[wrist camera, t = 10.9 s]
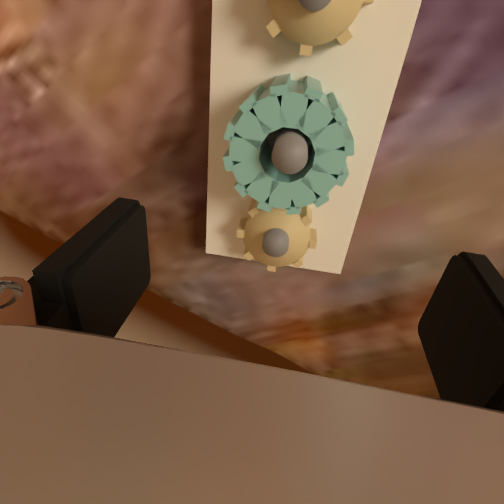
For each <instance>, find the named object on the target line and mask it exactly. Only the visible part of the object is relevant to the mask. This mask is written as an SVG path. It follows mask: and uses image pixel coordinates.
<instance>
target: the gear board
mask: <svg viewBox="0 0 504 504" xmlns="http://www.w3.org/2000/svg"><path fill="white" fill-rule="evenodd" d="M421 2H422V0H212V33H211V71H210V109H209V147H208V186H207V224H206V253H209V254H216V255H222V256H228V257H235V258H241V259H247V260H248V261H250V260H254V261H258V262H260V263H262V264H265V265H268V267H267V271H273V272H275V271H276V267H282V266H292V267H295V268H298V267H299V268H305V269H312V270H318V271H324V272H331V273H337V274H340V273H341V270H342V267H343V263H344V260H345V257H346V253H347V250H348V247H349V243H350V240H351V237H352V233H353V230H354V226H355V223H356V220H357V216H358V213H359V210H360V206H361V203H362V200H363V196H364V193H365V190H366V186H367V183H368V179H369V176H370V173H371V169H372V166H373V163H374V159H375V156H376V153H377V149H378V146H379V143H380V139H381V136H382V132H383V129H384V126H385V122H386V119H387V116H388V112H389V109H390V106H391V102H392V99H393V96H394V92H395V89H396V86H397V82H398V79H399V75H400V72H401V69H402V65H403V62H404V59H405V55H406V52H407V49H408V45H409V42H410V39H411V35H412V32H413V28H414V25H415V22H416V18H417V15H418V12H419V8H420V5H421ZM284 74H291V80H294V81H302V82H305V80H306V77H307V75H308V76H310V77H312V78H315V79H317V80H319V81H320V82H321V87H322V91H323V92H324V93H325V94H326V95H327V96H328V95H330V94H331V93H332V92H334V94H335V96H336V97H337V99H338V100H339V102H340V103H341V105H342V108H343V110H344V112H345V115H346V117H347V119H348V121H346V122H347V124H348V126H349V129H350V131H351V134H352V136H353V139H354V155H352V156H347V158H346V163H347V167H348V170H349V175H348V177H347V179H346V181H345V183H344V184H343V186H342V187H341V186H338V185H335V186H334V187H333V188H332V189H331V190H330V191H329V201H327V202H326V203H324V204H323V205H321V206H320V207H318V208H317V207H316V206H315V204H314V203H313V204H310V205H307V206H304V207H302V208H301V214H292V215H287V213H286V209H279V208H272V209H271V211H270V213H269V212H267V211H264V210H262V209H259V208H257V205H258V201H256V200H255V199H254V198H252V197H251V196H249V195H248V194H247V195H246V196H245V197H242V196H241V195H240V194H239V193H238V191H237V190H236V189H235V188H234V185H235V183H236V181H237V180H236V178H235V176H234V174H233V171H226V170H225V166H224V161H223V156H224V154H225V153H226V151H227V150H228V148H229V146H230V141H228V140H226V139H223V138H224V135H225V132H226V129H227V125H228V123H229V122H230V121H231V119H232V118H233V117H234V116H235V115H236V113H237V112H238V111H239V110H240V108H239V106H240V105H241V104H242V103H243V101H244V100H245V99H246V98H247V97H248V96H249V94H250V93H251V92H252V91H253V90H255V89H256V88H257V87H258V86H259V85H260V84H262V85H263V87H264V88H267V87H269V86H271V84H272V82H273V81H274V79H275V78H276V76H279V75H284ZM267 139H268V141H269V143H270V146H271V148H272V149H273V151H272V162H273V165H274V166H275V168H276V169H277V170H278V171H280V172H282V173H284V174H295V173H297V172H299V171H301V170H302V169H303V168H304V167H305V165H306V163H307V160H308V147H309V146H310V145H311V143H312V142H311V139H310V138H309V137H308V136H306V135H305V134H304V133H303V132H301V131H300V130H299V129H294V128H286V127H282V128H280V129H278V130H275V131H273V132H271V133H269V134H268V135H267Z"/></svg>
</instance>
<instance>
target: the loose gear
mask: <svg viewBox="0 0 504 504" xmlns="http://www.w3.org/2000/svg"><path fill="white" fill-rule="evenodd" d="M239 108H240V110H239V111H238V112H237V113H236V115H235V116H234V117H233V118H232V119H231V121H230V122H229V123H228V125H227V129H226V132H225V135H224V138H223V139H226V140H228V141H230V146H229V148H228V150H227V151H226V153H225V154H224V156H223V161H224V166H225V170H226V171H233V174H234V176H235V178H236V180H237V181H236V183H235V185H234V188H235V189H236V190H237V191H238V193H239V194H240V195H241V196H242V197H245V196H246V195H247V194H248V195H249V196H251V197H252V198H254V199H255V200H256V201H258V205H257V208H259V209H262V210H264V211H267V212H269V213H270V211H271V209H272V208H279V209H286V213H287V215H292V214H301V208H302V207H304V206H307V205H310V204H313V203H314V204H315V206H316V207H317V208H318V207H320V206H321V205H323V204H324V203H326V202H327V201H329V191H330V190H331V189H332V188H333V187H334V186H335V185H338V186H341V187H342V186H343V184H344V183H345V181H346V179H347V177H348V175H349V170H348V167H347V163H346V158H347V156H352V155H354V139H353V136H352V134H351V131H350V129H349V126H348V124H347V122H346V121H348V119H347V117H346V115H345V112H344V110H343V108H342V105H341V103H340V102H339V100H338V99H337V97H336V96H335V94H334V92H332V93H331V94H330V95H328V96H327V95H326V94H325V93H324V92H323V91H322V87H321V82H320V81H319V80H317V79H315V78H312V77H310V76H308V75H307V77H306V80H305V82H302V81H294V80H291V74H284V75H279V76H276V78H275V79H274V81H273V82H272V84H271V86H269V87H267V88H264V87H263V85H262V84H260V85H259V86H258V87H257V88H256V89H255V90H253V91H252V92H251V93H250V94H249V96H248V97H247V98H246V99H245V100H244V101H243V103H242V104H241V105H240V106H239ZM282 127H286V128H294V129H299V130H300V131H301V132H303V133H304V134H305V135H306V136H308V137H309V138H310V139H311V142H312V143H311V145H310V146H309V147H308V160H307V163H306V165H305V167H304V168H303V169H302V170H301V171H299V172H297V173H295V174H284V173H282V172H280V171H278V170H277V169H276V168H275V166H274V165H273V162H272V151H273V149H272V148H271V146H270V143H269V141H268V139H267V135H268V134H269V133H271V132H273V131H275V130H278V129H280V128H282Z"/></svg>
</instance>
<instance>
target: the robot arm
mask: <svg viewBox="0 0 504 504" xmlns="http://www.w3.org/2000/svg"><path fill="white" fill-rule="evenodd" d="M32 272H33V275H34V276H32V277H31V278H30V279H29V280H28V281H25V280H24V279H22V278H17V277H0V504H504V279H503V278H502V276H501V275H500V274H499V272H498V271H497V270H496V269H495V267H494V266H493V265H492V263H491V262H490V261H489V259H488V258H487V257H486V256H485V255H480V254H474V253H468V252H461V253H460V254H459V255H458V256H456V255H455V256H453V257H452V258H451V259H450V261H449V263H448V265H447V267H446V269H445V271H444V273H443V275H442V277H441V279H440V281H439V283H438V285H437V287H436V289H435V291H434V293H433V295H432V297H431V299H430V301H429V303H428V305H427V307H426V309H425V311H424V313H423V315H422V317H421V319H420V321H419V324H418V333H419V337H420V340H421V342H422V345H423V348H424V351H425V354H426V357H427V360H428V363H429V366H430V369H431V372H432V374H433V377H434V380H435V383H436V386H437V389H438V392H439V395H440V398H441V399H437V398H432V397H427V396H422V395H417V394H411V393H406V392H401V391H396V390H391V389H386V388H381V387H375V386H370V385H365V384H360V383H355V382H350V381H345V380H339V379H334V378H329V377H324V376H318V375H313V374H308V373H303V372H297V371H291V370H286V369H282V368H276V367H271V366H266V365H260V364H255V363H249V362H244V361H239V360H234V359H228V358H223V357H217V356H212V355H206V354H201V353H195V352H190V351H185V350H179V349H173V348H169V347H163V346H158V345H152V344H147V343H141V342H136V341H130V340H125V339H119V338H114V337H115V335H116V334H117V332H118V330H119V329H120V327H121V326H122V324H123V323H124V321H125V320H126V318H127V317H128V315H129V314H130V312H131V311H132V309H133V308H134V306H135V305H136V303H137V301H138V300H139V298H140V297H141V295H142V294H143V292H144V291H145V289H146V288H147V286H148V284H149V282H150V262H149V250H148V237H147V225H146V212H145V208H144V206H141V205H140V203H139V201H138V200H132V199H126V198H117V199H116V200H115V201H114V202H113V203H111V204H110V205H109V206H108V207H107V208H105V209H104V210H103V211H102V212H101V213H100V214H98V215H97V216H96V217H95V218H94V219H92V220H91V221H90V222H89V223H88V224H87V225H85V226H84V227H83V228H82V229H81V230H80V231H78V232H77V233H76V234H75V235H74V236H72V237H71V238H70V239H69V240H68V241H67V242H65V243H64V244H63V245H62V246H61V247H60V248H58V249H57V250H56V251H55V252H54V253H53V254H51V255H50V256H49V257H48V258H47V259H46V260H44V261H43V262H42V263H41V264H40V265H38V266H37V267H36V268H35V269H34V270H33V271H32Z"/></svg>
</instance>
